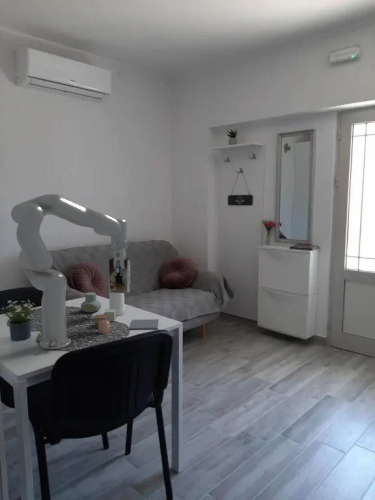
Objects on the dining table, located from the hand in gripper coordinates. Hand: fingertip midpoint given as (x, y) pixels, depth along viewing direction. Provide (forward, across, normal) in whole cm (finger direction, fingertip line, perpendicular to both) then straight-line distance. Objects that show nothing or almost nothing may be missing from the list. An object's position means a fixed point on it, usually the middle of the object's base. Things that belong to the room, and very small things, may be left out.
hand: (119, 281), depth 186 cm
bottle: (+22, +20, +4) cm, 30 cm away
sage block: (+22, +9, +6) cm, 24 cm away
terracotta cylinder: (+22, -9, +6) cm, 24 cm away
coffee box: (+5, 0, 0) cm, 5 cm away
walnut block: (+22, 0, +9) cm, 24 cm away
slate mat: (+22, 0, -12) cm, 24 cm away
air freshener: (+22, +26, +19) cm, 39 cm away
